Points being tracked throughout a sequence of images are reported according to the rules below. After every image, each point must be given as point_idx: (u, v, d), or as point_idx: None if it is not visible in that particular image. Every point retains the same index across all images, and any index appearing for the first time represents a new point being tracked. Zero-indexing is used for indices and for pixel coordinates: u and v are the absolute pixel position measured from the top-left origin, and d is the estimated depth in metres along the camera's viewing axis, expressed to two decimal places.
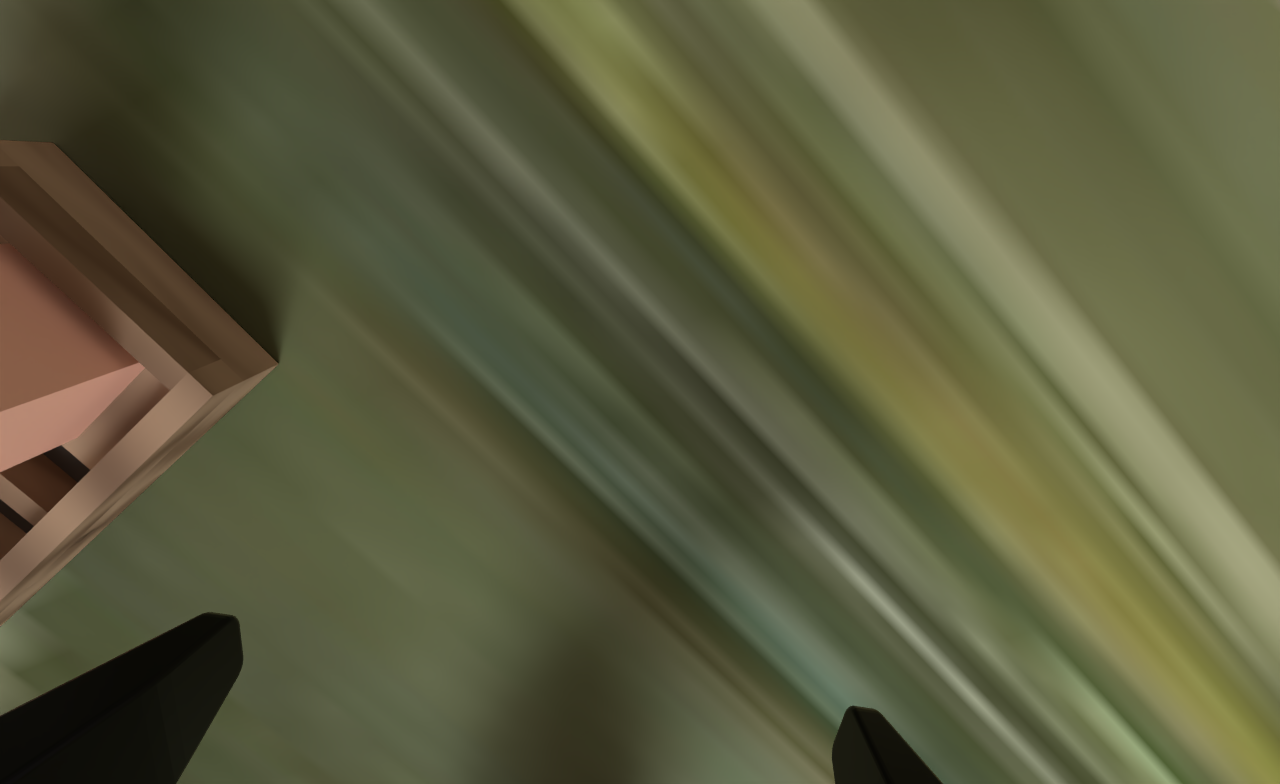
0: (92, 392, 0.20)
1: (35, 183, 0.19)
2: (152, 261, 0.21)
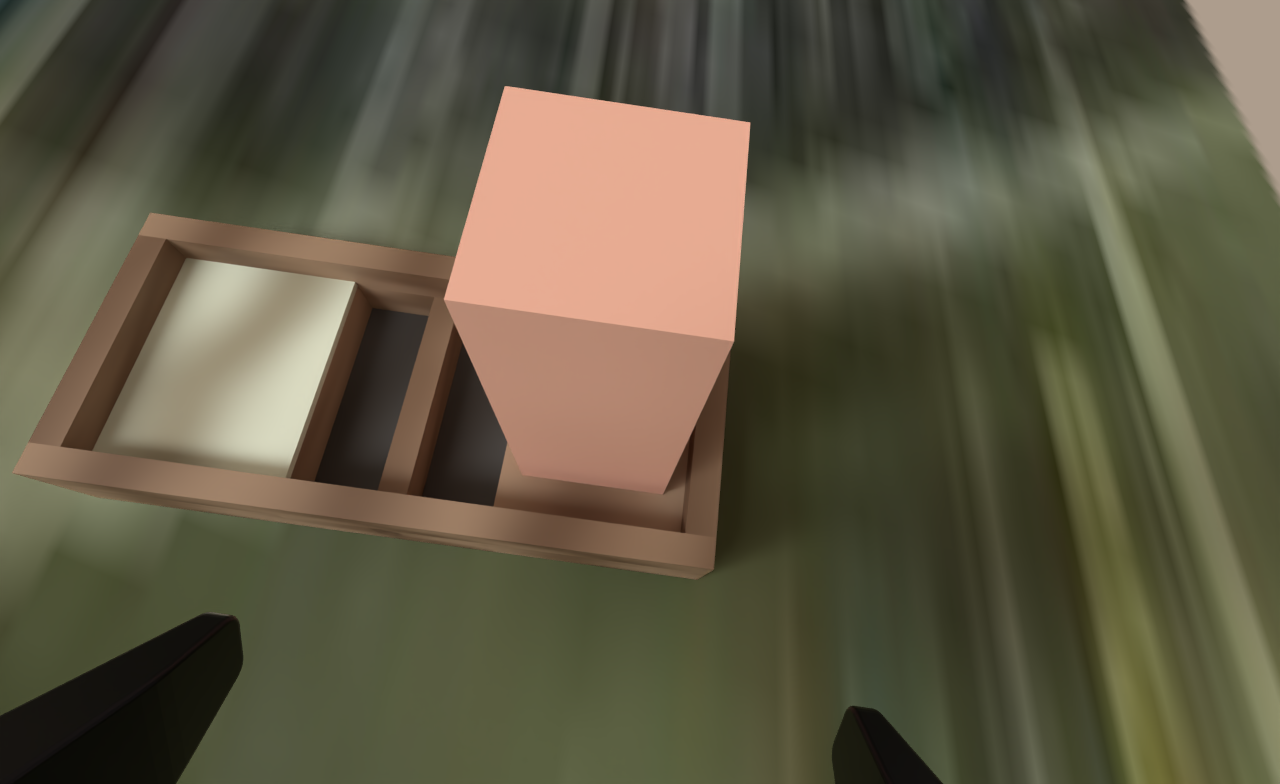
0: (635, 478, 0.20)
1: None
2: None
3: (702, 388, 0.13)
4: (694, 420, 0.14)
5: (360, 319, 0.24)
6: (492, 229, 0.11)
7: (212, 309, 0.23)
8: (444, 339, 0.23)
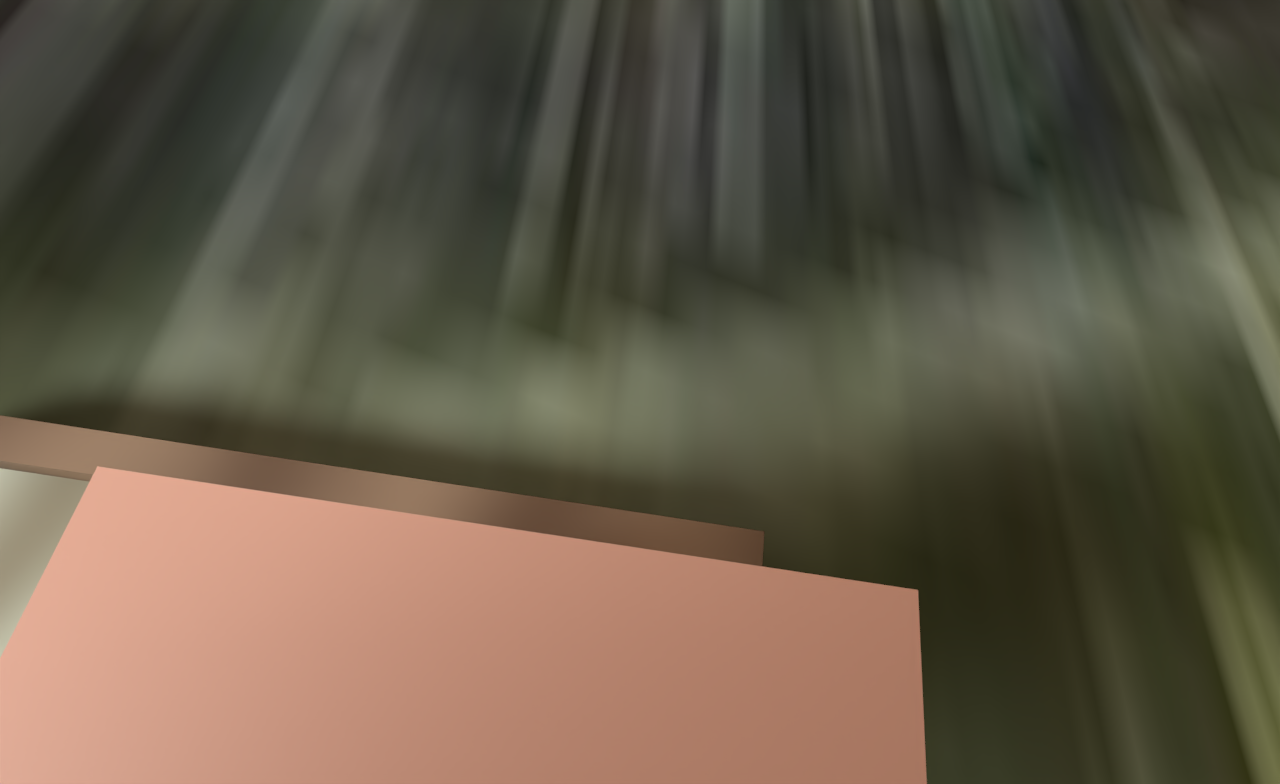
0: None
1: None
2: None
3: None
4: None
5: None
6: None
7: None
8: None
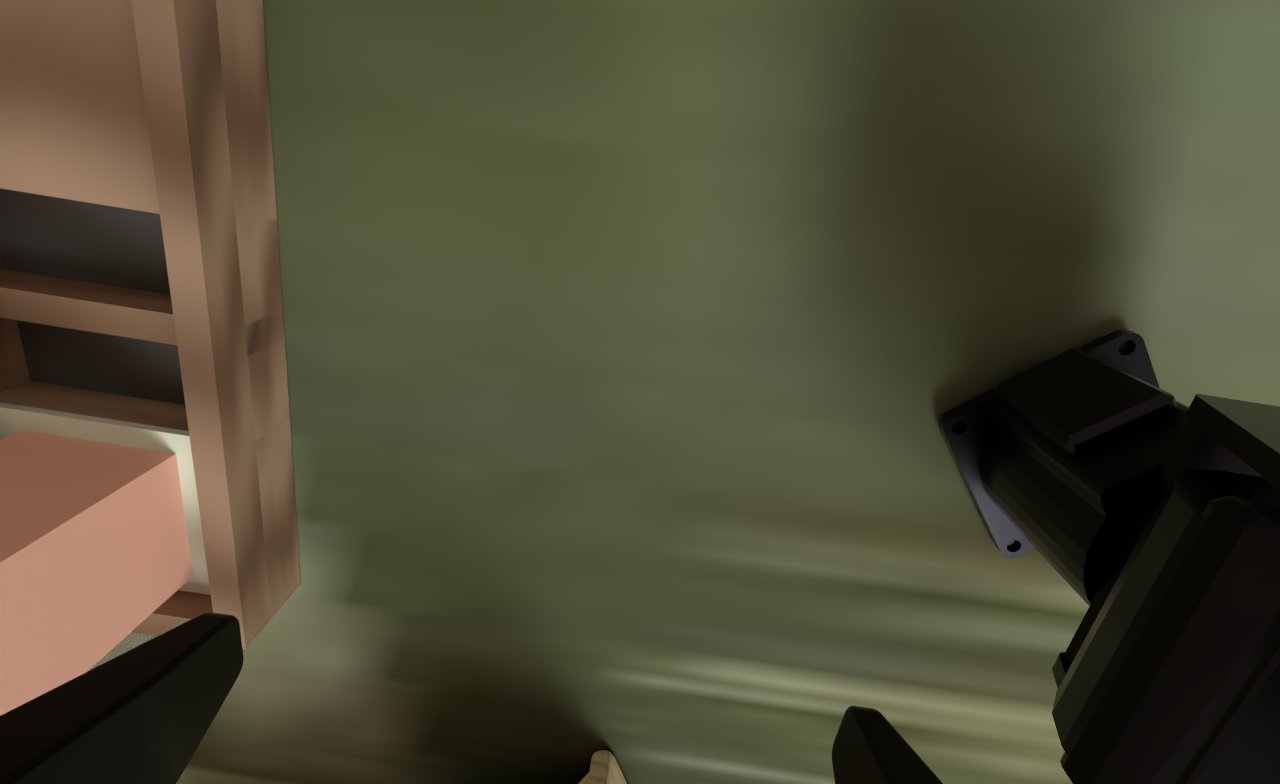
0: (137, 511, 0.19)
1: None
2: None
3: None
4: None
5: (39, 391, 0.21)
6: None
7: None
8: (7, 293, 0.19)
